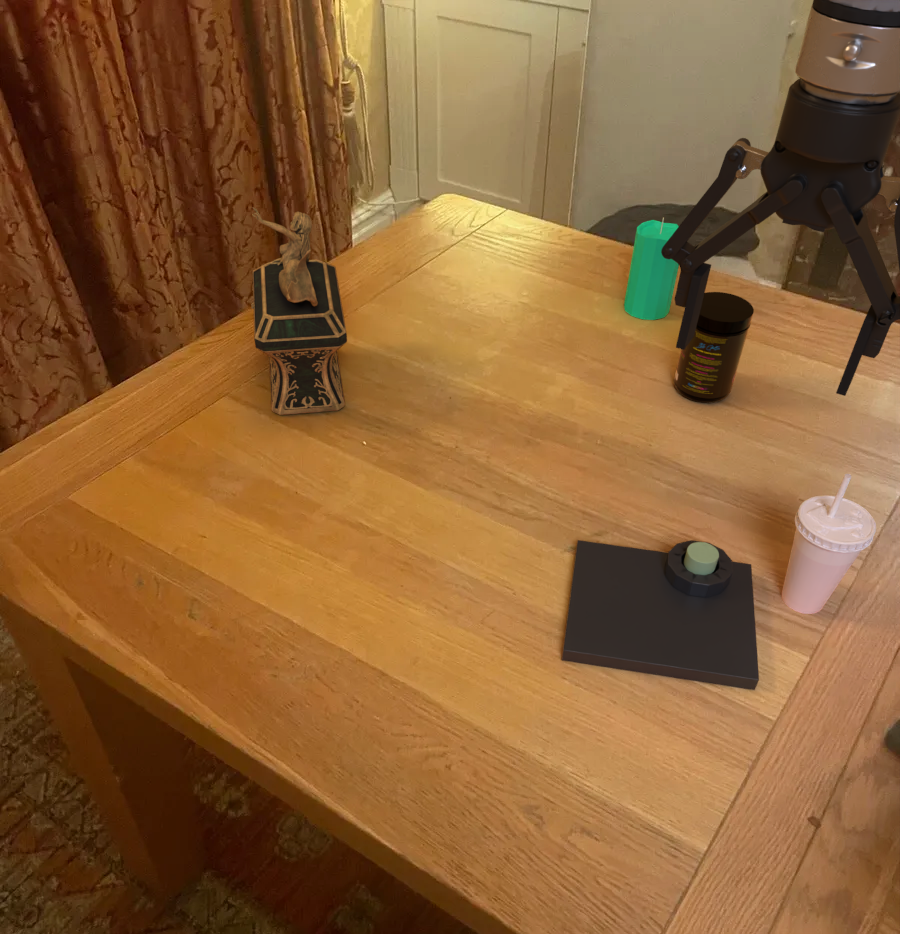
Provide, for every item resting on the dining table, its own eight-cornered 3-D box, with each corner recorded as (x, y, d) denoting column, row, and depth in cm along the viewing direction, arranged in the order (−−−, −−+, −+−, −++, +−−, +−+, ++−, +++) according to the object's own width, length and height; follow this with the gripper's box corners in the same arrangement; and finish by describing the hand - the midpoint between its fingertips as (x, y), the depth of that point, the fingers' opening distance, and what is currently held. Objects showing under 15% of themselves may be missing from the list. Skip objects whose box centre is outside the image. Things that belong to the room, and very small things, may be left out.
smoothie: (768, 568, 85) (814, 446, 75) (839, 583, 84) (895, 461, 74) (764, 616, 81) (813, 493, 71) (839, 632, 79) (899, 510, 69)
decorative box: (261, 347, 110) (237, 181, 96) (340, 341, 112) (328, 177, 98) (265, 444, 97) (238, 267, 83) (355, 437, 98) (343, 261, 84)
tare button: (714, 556, 82) (718, 544, 81) (715, 577, 80) (719, 565, 79) (683, 552, 82) (687, 539, 81) (683, 573, 80) (687, 560, 79)
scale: (747, 572, 85) (755, 548, 82) (754, 690, 75) (764, 667, 73) (576, 548, 86) (580, 524, 84) (561, 660, 76) (565, 637, 74)
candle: (665, 323, 117) (684, 231, 108) (619, 315, 118) (634, 223, 109) (672, 302, 121) (691, 211, 112) (628, 294, 122) (643, 204, 113)
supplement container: (734, 407, 104) (758, 324, 96) (674, 403, 104) (694, 320, 96) (726, 375, 108) (749, 293, 101) (669, 371, 109) (688, 290, 101)
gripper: (654, 67, 63) (607, 343, 78) (1044, 139, 55) (908, 430, 70) (688, 42, 67) (638, 306, 83) (1053, 105, 60) (923, 384, 75)
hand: (762, 364), depth 76 cm, fingers open, 13 cm apart
